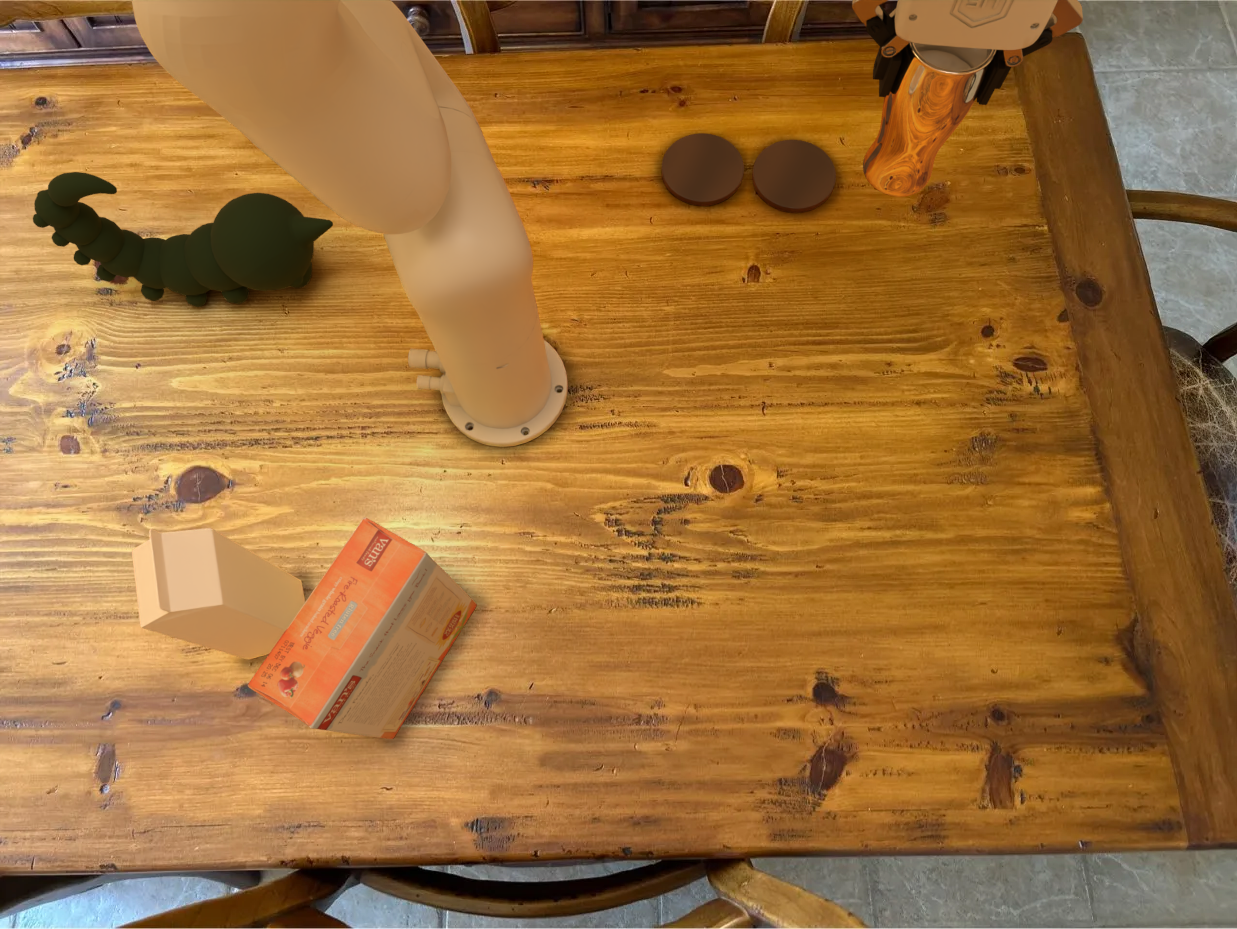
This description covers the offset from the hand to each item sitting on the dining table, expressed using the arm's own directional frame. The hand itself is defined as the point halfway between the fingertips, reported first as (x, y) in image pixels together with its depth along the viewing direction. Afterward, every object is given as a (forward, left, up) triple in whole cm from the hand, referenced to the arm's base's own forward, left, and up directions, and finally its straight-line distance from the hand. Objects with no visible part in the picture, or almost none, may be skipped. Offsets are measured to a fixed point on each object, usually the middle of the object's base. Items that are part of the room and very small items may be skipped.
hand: (932, 85), depth 70 cm
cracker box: (-40, -45, -25) cm, 66 cm away
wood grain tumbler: (0, 0, -10) cm, 10 cm away
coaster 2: (-7, +10, -25) cm, 28 cm away
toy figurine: (-65, -8, -25) cm, 70 cm away
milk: (-53, -43, -25) cm, 73 cm away
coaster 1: (-17, +10, -25) cm, 32 cm away
